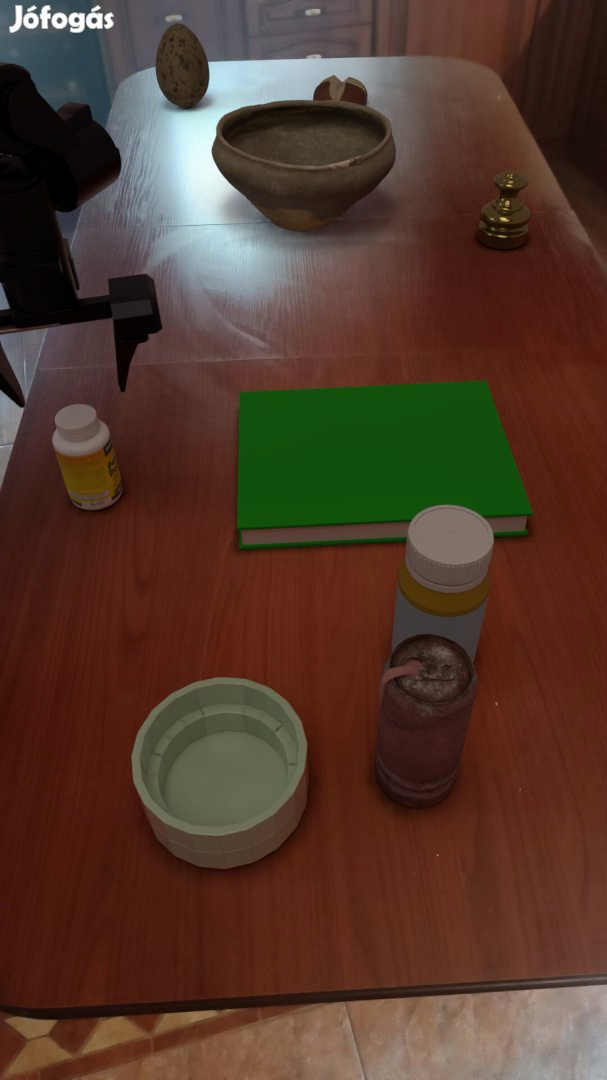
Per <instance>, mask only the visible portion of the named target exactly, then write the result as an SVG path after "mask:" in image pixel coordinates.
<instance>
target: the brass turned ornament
mask: <svg viewBox="0 0 607 1080" xmlns="http://www.w3.org/2000/svg"><path fill="white" fill-rule="evenodd" d="M492 182H493V185H494V186H495V187H496V188H497V189H498V191H499V193H498V194H497V196H496V197H494V198H493V199H492V200H490V201H488V202H487V203H484V205H482V207H481V208H480V213H479V215H480V216H479V217H480V221H479V222H478V231H477V239H478V241H479V242H480V243H481V244H482V245H484V246H486V247H488V248H491V249H496V250H512V249H517V248H519V247H521V246H523V245H524V244H525V243H526V242H527V238H528V232H529V230H530V227H529V223H530V220H531V218H532V212H531V209H530V208H529V206H528V205H527V204H525V203H524V202H523V201H522V199H521V198H520V197H519V193H520V192H521V191H523V190H524V189H526V188H527V187H528V185H529V178H528V177H527V176H526V175H524V174H522V173H521V172H519V171H518V170H515V169H509V170H506V171H503V172H500V173H498V174H496V175H494V177H493V179H492Z"/></svg>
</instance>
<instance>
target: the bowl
mask: <svg viewBox="0 0 607 1080" xmlns="http://www.w3.org/2000/svg"><path fill="white" fill-rule="evenodd" d="M396 147H397V146H396V143H395V139H394V135H393V126H392V124H391V121H390V119H389V118H388V117H387V116H386V115H385V114H383V113H382V112H380V111H379V110H377V109H375V108H372V107H370V106H366V105H365V106H362V105H358V104H355V103H351V102H345V101H337V100H326V101H318V100H316V101H313V99H312V100H311V99H286V100H275V101H270V102H266V103H259V104H252V105H245V106H242V107H240V108H237V109H234V110H232V111H229V112H227V113H225V114H223V116H221V117H220V118H219V120H218V122H217V124H216V127H215V137H214V140H213V143H212V145H211V155H212V156H211V157H212V160H213V162H214V164H215V166H216V168H217V170H218V171H219V173H220V174H221V175H222V177H223V178H224V179H225V180H226V181H227V182H228V183H229V185H230V186H232V187H233V188H234V189H235V190H236V191H237V192H239V193H240V194H241V195H243V197H245V198H246V200H247V201H248V202H249V203H250V204H251V205H252V206H253V207H254V208H255V209H256V210H257V211H258V212H259V213H260V214H262V215H263V216H264V217H265V218H267V219H268V220H269V221H270V222H271V223H272V224H273V225H274V226H277V227H279V228H281V229H283V230H290V231H301V232H310V231H315V230H319V229H320V230H321V229H322V228H324V227H326V226H327V225H329V224H331V223H332V222H335V220H337V219H338V218H339V217H341V216H342V215H343V214H345V213H346V212H347V211H349V210H350V209H351V208H352V207H353V206H354V205H355V204H356V203H358V202H359V201H361V200H362V199H364V198H365V197H368V195H369V194H371V193H372V192H373V191H375V189H377V187H378V186H379V185H380V184H381V183H382V182H383V180H384V179H385V178H386V177H387V176H388V175H389V173H390V172H391V171H392V169H393V168H394V166H395V162H396V156H397V154H396V153H397V148H396Z"/></svg>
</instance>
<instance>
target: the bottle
mask: <svg viewBox="0 0 607 1080" xmlns="http://www.w3.org/2000/svg"><path fill="white" fill-rule="evenodd" d="M494 543H495V537H493V532H492V529H491V527H490V525H489V524H488V522H487V521H486V520H485V519H484V518H483V517H482V516H481V515H479V514H478V513H476V512H474V511H472V510H470V509H467V508H464V507H461V506H456V505H438V506H433V507H430V508H427V509H425V510H423V511H421V512H420V513H418V514H417V515H416V516H415V517H414V518H413V520H412V521H411V523H410V525H409V528H408V534H407V542H406V545H405V556H404V557H403V559H402V561H401V563H400V564H399V567H398V571H397V579H396V580H397V581H396V592H395V593H396V594H395V603H394V613H393V615H394V616H393V626H392V634H391V636H392V637H391V651H392V650H393V649H394V648H395V647H396V646H397V645H398V644H399V643H400V642H402V641H403V640H405V639H406V638H409V637H411V636H414V635H417V634H430V633H431V634H436V635H441V636H445V637H447V638H449V639H451V640H453V641H455V642H457V643H458V644H459V645H460V646H462V647H463V648H464V649H465V650H466V652H467V653H468V655H469V656H470V658H471V659H472V663H473V664H474V662H475V658H476V656H477V655H476V654H477V649H478V644H479V641H480V636H481V631H482V628H483V622H484V618H485V613H486V609H487V604H488V600H489V595H490V592H491V591H490V590H491V582H492V581H491V573H490V571H489V565H490V562H491V559H492V555H493V550H494V545H495V544H494Z"/></svg>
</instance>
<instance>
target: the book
mask: <svg viewBox="0 0 607 1080" xmlns="http://www.w3.org/2000/svg"><path fill="white" fill-rule="evenodd" d="M238 395H239V400H238V401H239V404H238V405H239V406H238V450H237V451H238V453H237V454H238V455H237V459H238V460H237V513H236V515H237V516H236V522H237V523H236V524H237V525H236V530H237V531H239V544H238V545H239V550H240V551H244V550H245V551H247V550H263V549H264V550H265V549H266V550H267V549H283V548H284V549H285V548H304V547H323V546H327V547H328V546H342V545H343V546H344V545H345V546H347V545H364V544H384V543H403V542H404V543H405V542H406V543H407V534H408V528H409V525H410V523H411V521H412V520H413V518H414V517H415V516H416V515H417V514H418V513H420V512H421V511H423V510H425V509H427V508H430V507H433V506H438V505H456V506H461V507H464V508H467V509H470V510H472V511H474V512H476V513H478V514H479V515H481V516H482V517H483V518H484V519H485V520H486V521H487V522H488V524H489V525H490V527H491V529H492V532H493V537H494V538H503V537H504V538H506V537H525V536H528V535H529V531H528V529H527V525H526V524H527V520H528V517H533V516H534V511H533V509H532V506H531V503H530V500H529V497H528V495H527V492H526V489H525V486H524V483H523V480H522V478H521V475H520V473H519V470H518V466H517V464H516V461H515V458H514V455H513V453H512V450H511V447H510V444H509V441H508V439H507V435H506V432H505V430H504V426H503V424H502V421H501V418H500V416H499V413H498V410H497V408H496V405H495V402H494V399H493V396H492V393H491V390H490V387H489V385H488V382H487V380H486V379H485V380H468V381H467V380H465V381H463V380H462V381H445V382H443V381H442V382H422V383H421V382H420V383H400V384H379V385H360V386H358V385H357V386H356V385H355V386H337V387H317V388H314V387H313V388H297V389H293V388H292V389H274V390H271V389H270V390H252V391H251V390H250V391H239V394H238Z"/></svg>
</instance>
